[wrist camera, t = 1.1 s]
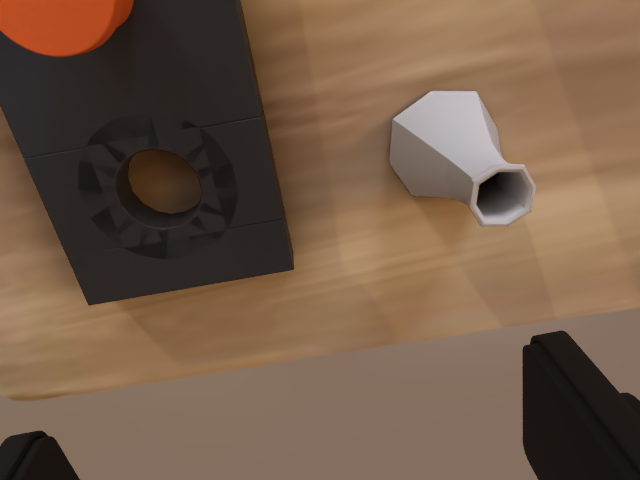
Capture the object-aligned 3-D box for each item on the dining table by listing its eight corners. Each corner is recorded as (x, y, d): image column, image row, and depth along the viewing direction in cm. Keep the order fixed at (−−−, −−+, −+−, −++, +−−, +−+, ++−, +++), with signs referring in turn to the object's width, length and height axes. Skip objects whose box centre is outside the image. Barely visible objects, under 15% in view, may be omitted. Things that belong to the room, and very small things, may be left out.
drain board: (-69, -118, 24) (-105, -131, 22) (205, -168, 24) (197, -186, 22) (101, 286, 35) (88, 305, 32) (293, 253, 35) (294, 270, 32)
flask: (401, 209, 34) (443, 282, 25) (374, 108, 31) (412, 149, 22) (502, 177, 33) (584, 239, 24) (486, 71, 30) (573, 97, 21)
